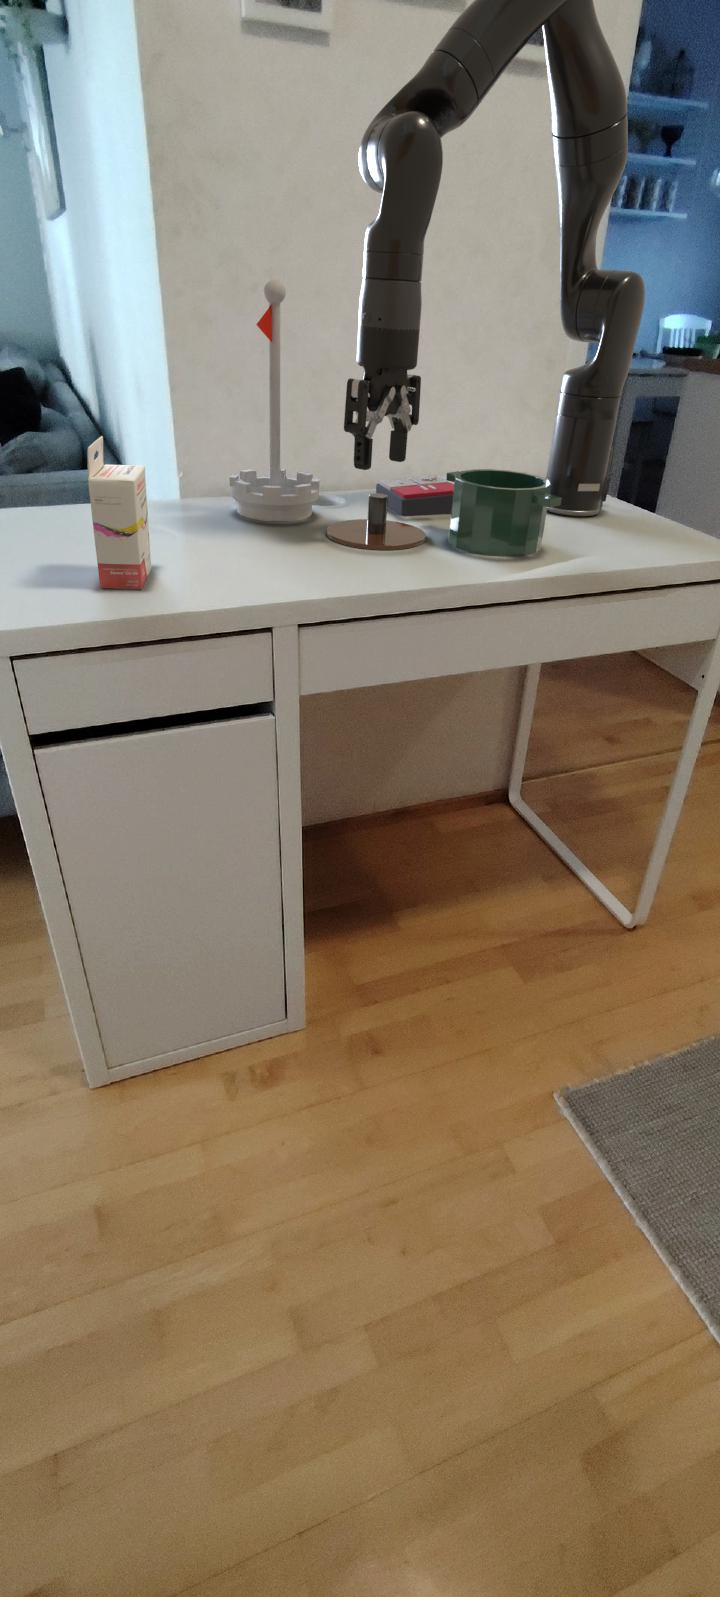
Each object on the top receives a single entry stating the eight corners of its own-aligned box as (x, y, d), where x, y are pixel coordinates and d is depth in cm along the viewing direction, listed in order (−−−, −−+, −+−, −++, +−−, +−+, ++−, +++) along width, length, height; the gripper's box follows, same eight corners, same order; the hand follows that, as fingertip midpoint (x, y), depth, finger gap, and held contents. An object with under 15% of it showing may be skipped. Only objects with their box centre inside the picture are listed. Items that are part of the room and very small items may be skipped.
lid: (379, 523, 124) (381, 480, 121) (445, 545, 116) (450, 500, 113) (306, 535, 116) (307, 490, 113) (371, 560, 108) (374, 512, 105)
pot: (475, 526, 125) (483, 462, 121) (574, 556, 114) (586, 487, 110) (415, 538, 118) (421, 470, 113) (514, 571, 107) (525, 498, 102)
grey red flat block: (375, 478, 133) (460, 471, 138) (374, 506, 135) (458, 498, 140) (403, 494, 124) (492, 485, 129) (402, 524, 127) (490, 514, 131)
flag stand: (255, 501, 132) (252, 276, 116) (332, 512, 128) (339, 282, 112) (214, 518, 122) (204, 274, 106) (296, 531, 118) (298, 280, 102)
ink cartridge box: (144, 590, 94) (132, 450, 86) (99, 589, 93) (82, 448, 86) (154, 567, 101) (143, 435, 93) (111, 566, 101) (97, 434, 93)
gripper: (384, 326, 95) (374, 476, 104) (444, 326, 106) (431, 462, 114) (330, 321, 99) (325, 467, 107) (393, 321, 109) (384, 454, 118)
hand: (380, 464), depth 111 cm, fingers open, 8 cm apart
